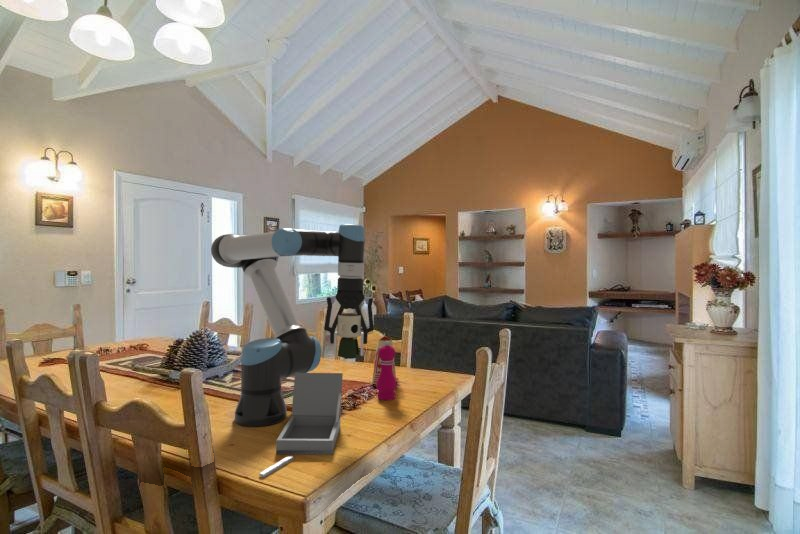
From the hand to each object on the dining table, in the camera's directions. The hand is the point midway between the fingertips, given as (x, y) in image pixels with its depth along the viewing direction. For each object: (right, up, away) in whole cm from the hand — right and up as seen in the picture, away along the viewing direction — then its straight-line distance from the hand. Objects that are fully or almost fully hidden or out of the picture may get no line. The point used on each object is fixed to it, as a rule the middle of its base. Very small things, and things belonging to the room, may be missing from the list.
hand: (348, 354), depth 129 cm
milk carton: (+9, -20, +44) cm, 49 cm away
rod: (-14, -21, -27) cm, 37 cm away
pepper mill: (+10, -20, +25) cm, 34 cm away
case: (-9, -21, -9) cm, 24 cm away
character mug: (0, -1, 0) cm, 1 cm away
